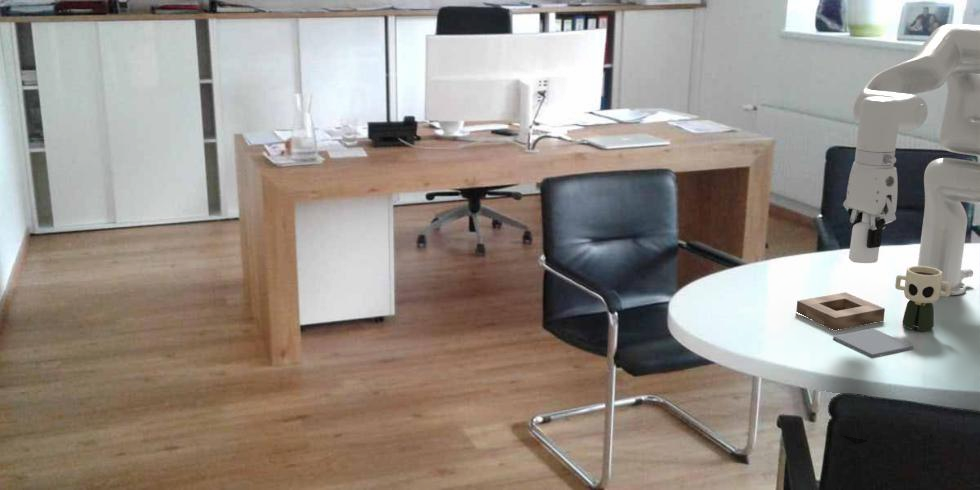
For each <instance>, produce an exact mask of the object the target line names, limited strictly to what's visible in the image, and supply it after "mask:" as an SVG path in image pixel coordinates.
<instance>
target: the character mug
mask: <svg viewBox="0 0 980 490" xmlns="http://www.w3.org/2000/svg"><path fill="white" fill-rule="evenodd" d="M902 280H904V281H905V282H904V285H901V281H902ZM941 285H942V286H946V289H945V292H940V290H941ZM895 289H896V290H900V291H903V293H904V296H905V298H906V299H908V301H907V303H906V307H905V310H904V313H903V317H902V321H901V322H902V326H904V327H905V328H907V329H910V330H914V328H915V327H917V331H929V330H932V329H933V328H934V327H935V318H934V316H935V311H934V305H933V303H936V302H937V301H938V300H939V299H940V297H944V298H948V297H950V296H951V295H950V289H951V283H949V282H944V281H942V271H940V270H938V269H935V268H932V267H926V266H918V265H913V266H909V267H907V268H906V274H905V275H902V274H897V275H896V278H895Z"/></svg>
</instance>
